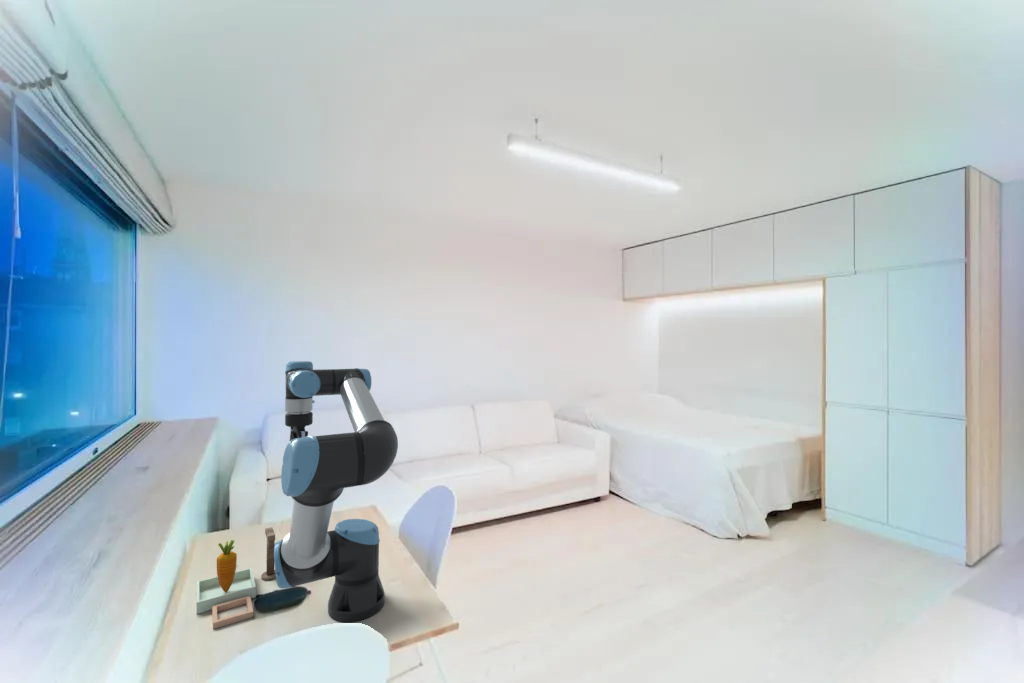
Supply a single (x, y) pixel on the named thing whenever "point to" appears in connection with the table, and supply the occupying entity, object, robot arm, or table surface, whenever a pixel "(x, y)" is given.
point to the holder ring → (232, 618)
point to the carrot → (226, 565)
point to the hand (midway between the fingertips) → (298, 482)
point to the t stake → (269, 555)
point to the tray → (214, 594)
